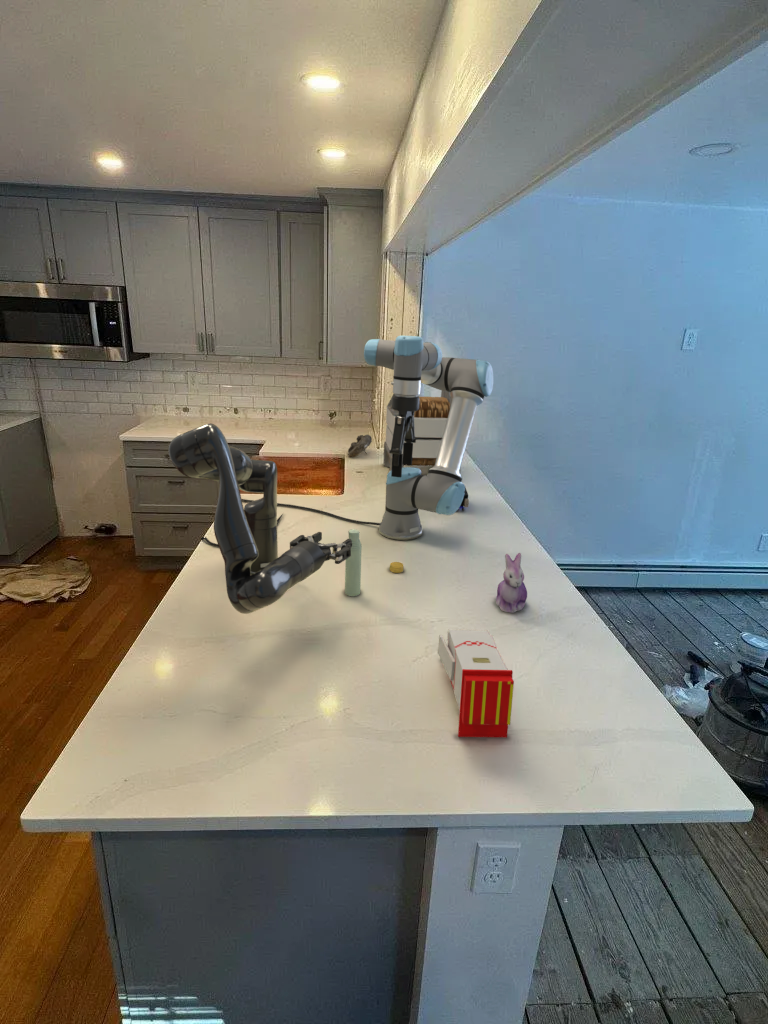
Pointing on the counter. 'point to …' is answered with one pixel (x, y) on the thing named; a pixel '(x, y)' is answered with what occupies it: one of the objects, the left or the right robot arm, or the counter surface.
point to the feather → (279, 518)
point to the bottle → (353, 566)
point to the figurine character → (465, 500)
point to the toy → (478, 682)
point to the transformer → (421, 429)
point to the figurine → (512, 586)
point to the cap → (396, 567)
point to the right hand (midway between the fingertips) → (401, 470)
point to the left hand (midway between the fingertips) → (335, 538)
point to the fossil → (359, 445)
